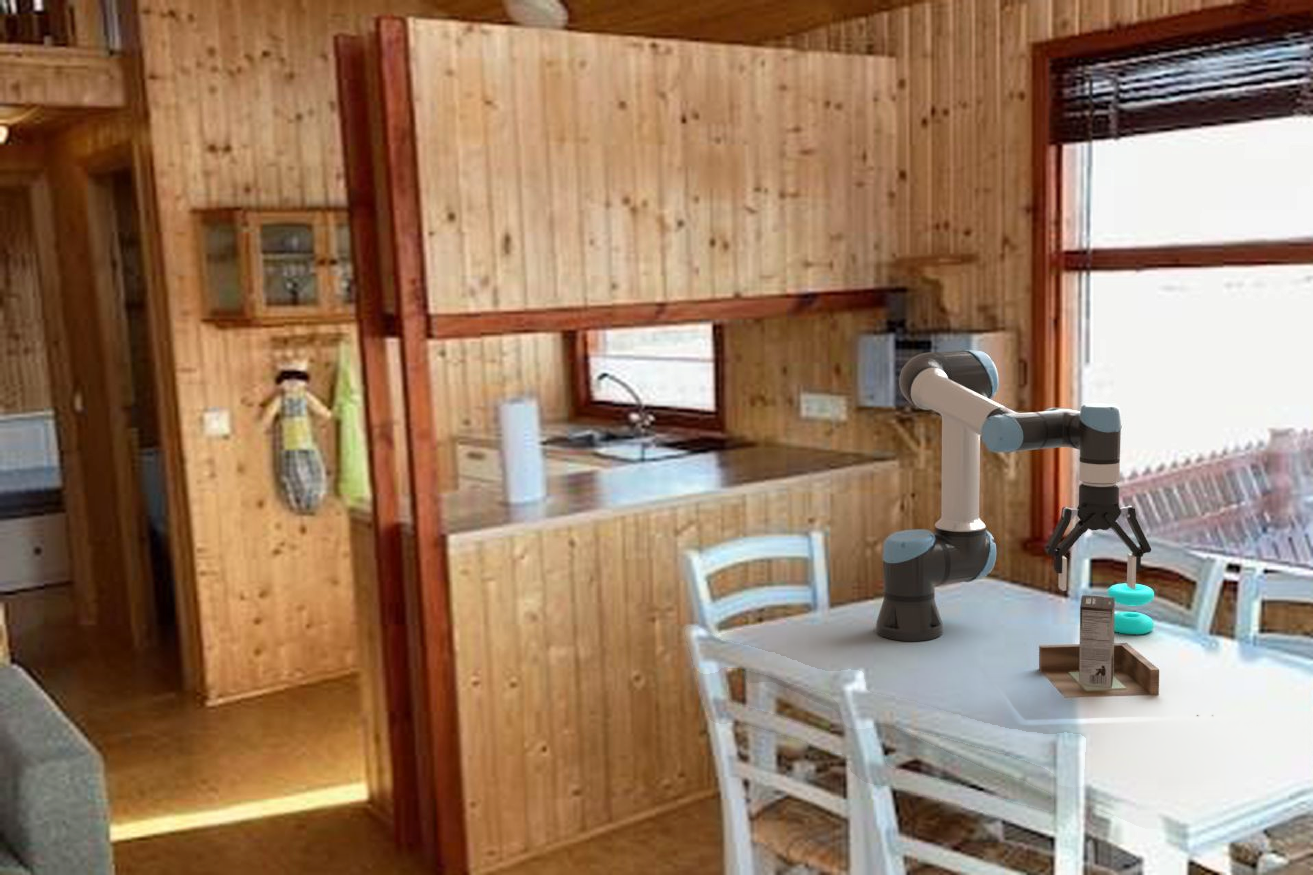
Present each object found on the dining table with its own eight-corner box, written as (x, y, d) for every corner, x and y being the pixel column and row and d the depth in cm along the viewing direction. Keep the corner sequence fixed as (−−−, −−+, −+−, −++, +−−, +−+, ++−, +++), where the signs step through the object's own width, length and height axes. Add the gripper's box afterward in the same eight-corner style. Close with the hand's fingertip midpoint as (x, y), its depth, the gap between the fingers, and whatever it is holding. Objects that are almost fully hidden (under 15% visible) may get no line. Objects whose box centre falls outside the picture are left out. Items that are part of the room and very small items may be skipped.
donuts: (1162, 586, 295) (1140, 595, 289) (1162, 629, 297) (1139, 638, 290) (1122, 579, 303) (1099, 587, 296) (1121, 621, 304) (1098, 630, 298)
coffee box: (1081, 671, 265) (1081, 594, 263) (1114, 674, 263) (1115, 596, 261) (1078, 685, 257) (1078, 605, 255) (1112, 688, 254) (1113, 607, 252)
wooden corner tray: (1039, 672, 269) (1039, 645, 268) (1126, 669, 269) (1126, 642, 268) (1065, 701, 251) (1065, 672, 250) (1158, 698, 251) (1159, 669, 250)
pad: (1068, 673, 265) (1068, 671, 265) (1107, 672, 265) (1107, 670, 265) (1085, 690, 254) (1085, 689, 254) (1126, 689, 254) (1126, 687, 254)
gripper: (1155, 477, 258) (1152, 581, 261) (1030, 481, 258) (1028, 584, 261) (1170, 484, 251) (1167, 591, 254) (1040, 488, 251) (1039, 594, 254)
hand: (1096, 588), depth 258 cm, fingers open, 13 cm apart
